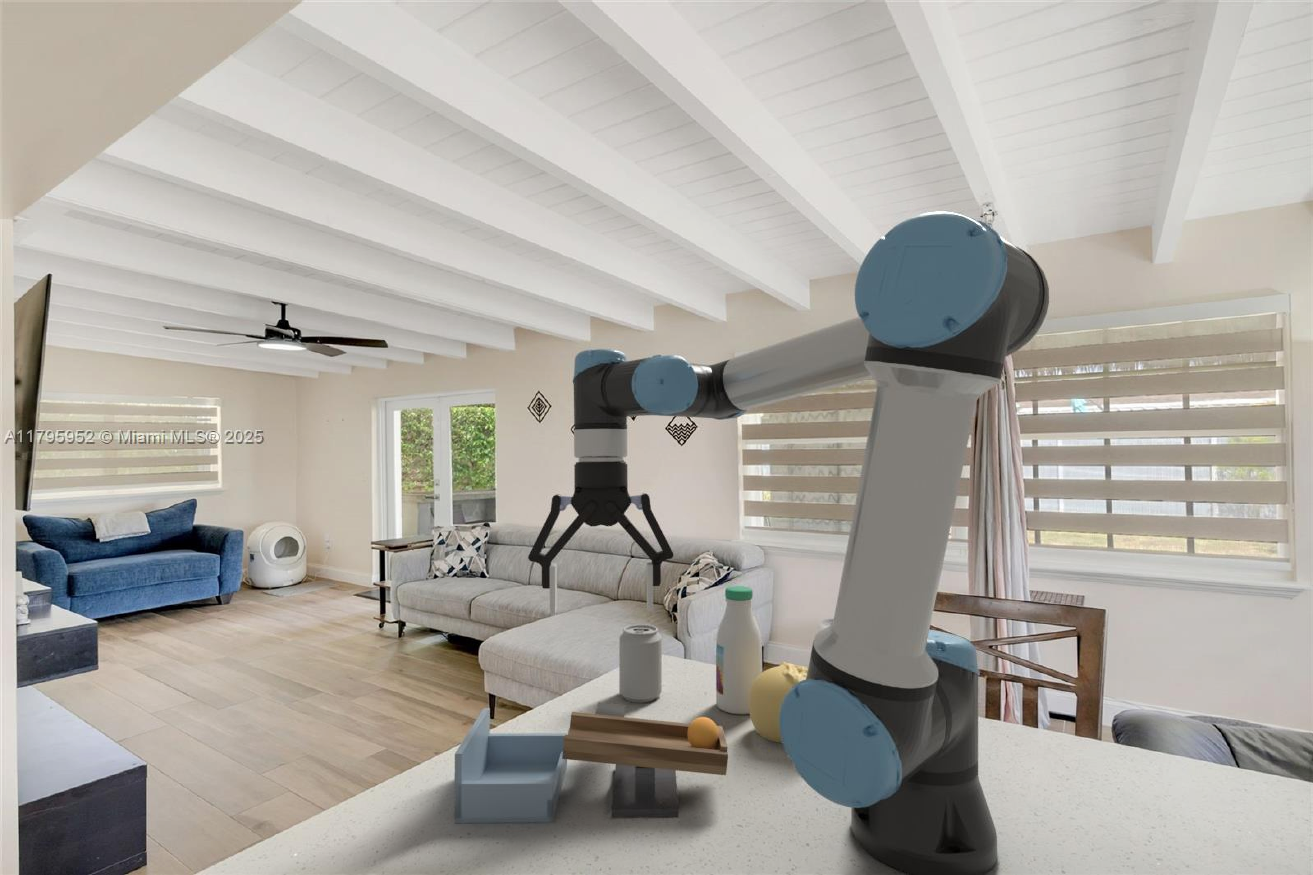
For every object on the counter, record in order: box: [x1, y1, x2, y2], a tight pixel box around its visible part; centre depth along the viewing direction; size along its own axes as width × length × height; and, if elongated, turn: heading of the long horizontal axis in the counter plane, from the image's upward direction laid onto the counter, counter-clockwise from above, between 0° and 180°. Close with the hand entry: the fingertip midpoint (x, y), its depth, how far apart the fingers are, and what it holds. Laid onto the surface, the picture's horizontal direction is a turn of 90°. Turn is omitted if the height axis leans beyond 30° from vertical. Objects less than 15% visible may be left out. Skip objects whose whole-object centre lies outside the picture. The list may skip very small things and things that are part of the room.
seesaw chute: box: [562, 701, 729, 776], centre depth 88 cm, size 16×20×3 cm
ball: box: [687, 716, 719, 749], centre depth 84 cm, size 4×4×4 cm
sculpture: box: [749, 661, 809, 744], centre depth 100 cm, size 11×12×11 cm
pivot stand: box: [610, 764, 680, 819], centre depth 84 cm, size 12×8×4 cm, turn 1°
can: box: [618, 623, 663, 703], centre depth 116 cm, size 8×8×12 cm
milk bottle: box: [715, 585, 763, 715], centre depth 112 cm, size 8×8×20 cm
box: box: [453, 707, 568, 824], centre depth 84 cm, size 14×11×8 cm
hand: (601, 610), depth 93 cm, fingers open, 13 cm apart
